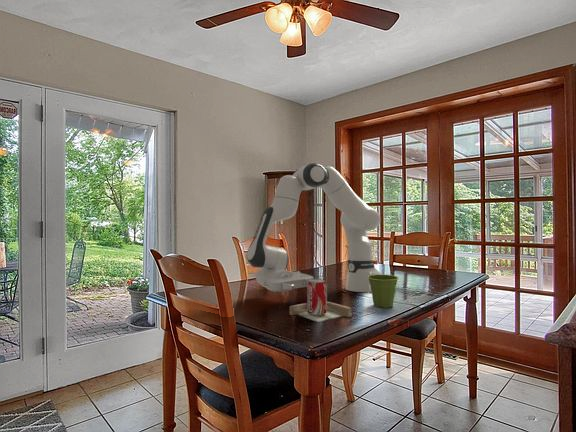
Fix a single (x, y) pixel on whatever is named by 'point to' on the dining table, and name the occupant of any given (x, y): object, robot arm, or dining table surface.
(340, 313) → the wooden stand
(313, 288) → the soda can
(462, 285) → the dining table surface
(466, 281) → the dining table surface
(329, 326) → the dining table surface
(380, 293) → the plant pot
